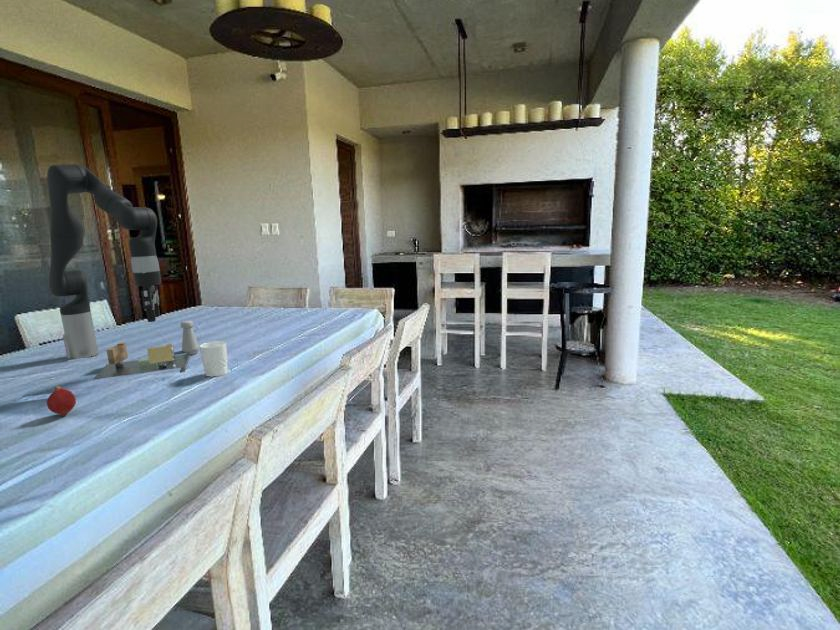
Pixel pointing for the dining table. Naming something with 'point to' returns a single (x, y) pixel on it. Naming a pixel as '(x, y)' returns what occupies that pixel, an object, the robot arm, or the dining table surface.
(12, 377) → the dining table surface
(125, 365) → the level plate
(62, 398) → the onion
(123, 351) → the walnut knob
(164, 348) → the pale yellow sponge
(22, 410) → the dining table surface
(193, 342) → the salt shaker
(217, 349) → the white cup
